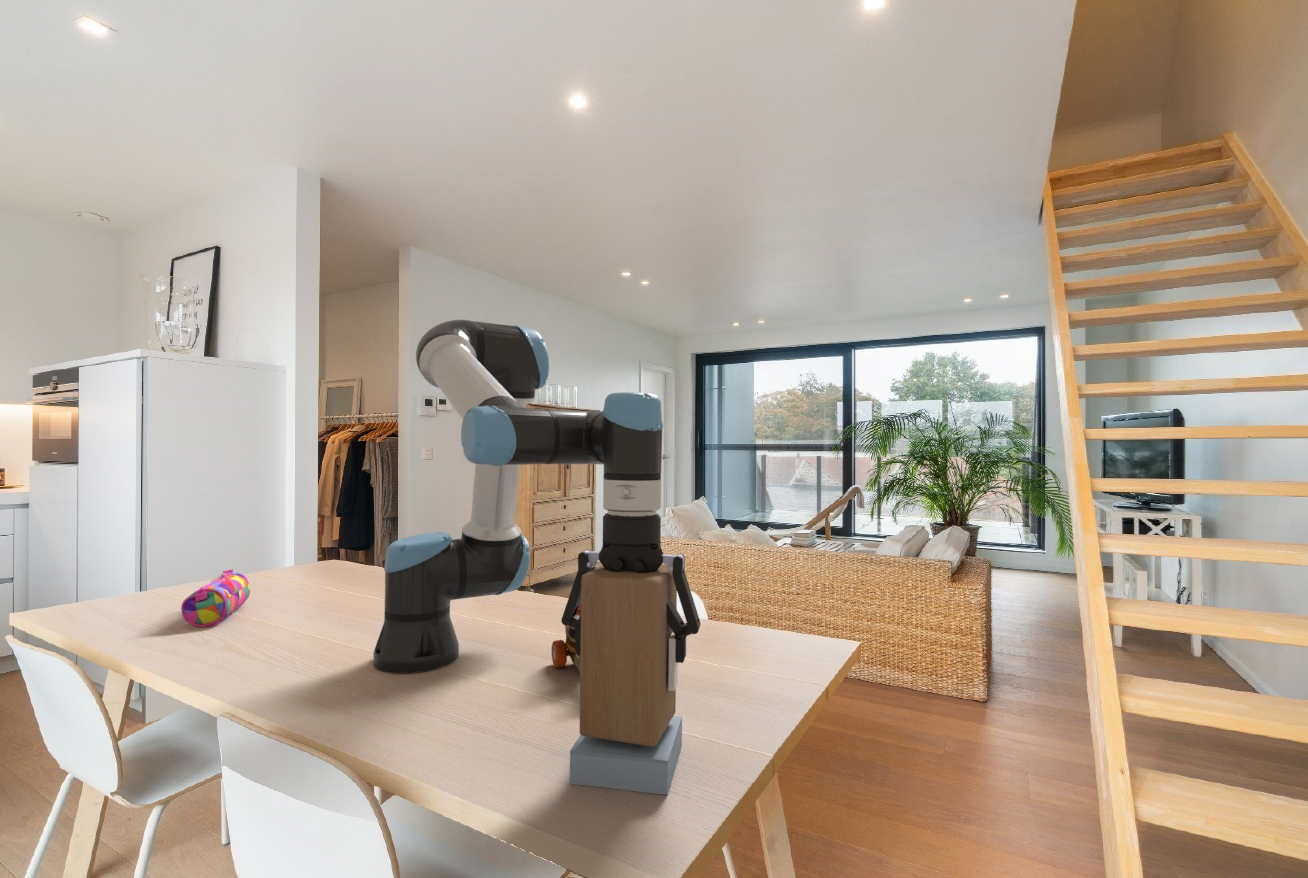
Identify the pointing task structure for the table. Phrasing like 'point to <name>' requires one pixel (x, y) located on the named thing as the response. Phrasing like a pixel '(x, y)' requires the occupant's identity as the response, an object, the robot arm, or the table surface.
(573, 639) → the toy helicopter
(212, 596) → the pencil case
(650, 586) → the wooden block
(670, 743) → the base brick
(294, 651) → the table surface
